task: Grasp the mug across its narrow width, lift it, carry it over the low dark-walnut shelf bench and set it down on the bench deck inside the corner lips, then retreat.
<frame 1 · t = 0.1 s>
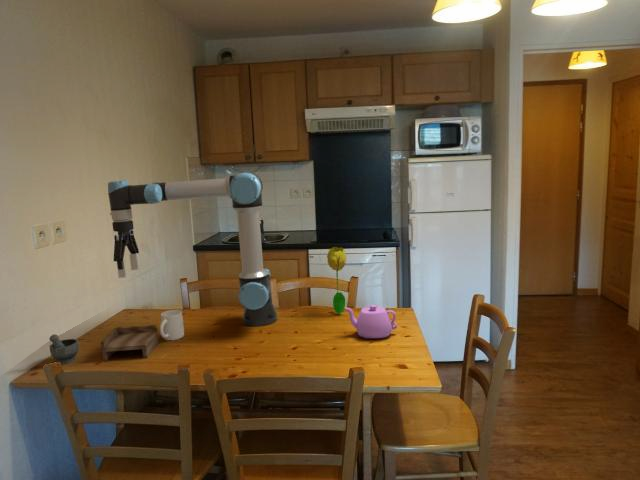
hand: (129, 273, 192), 28 cm above the table, fingers open, 13 cm apart
flower: (339, 315, 213), on the table
mortar and pestle: (65, 362, 178), on the table
shelf: (132, 351, 184), on the table
mug: (171, 339, 196), on the table
teapot: (371, 335, 187), on the table
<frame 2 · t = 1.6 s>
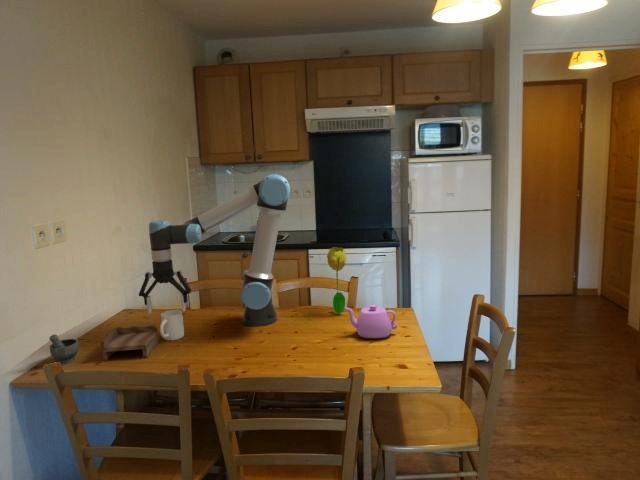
hand: (167, 311, 194), 11 cm above the table, fingers open, 13 cm apart
nothing on the table moved.
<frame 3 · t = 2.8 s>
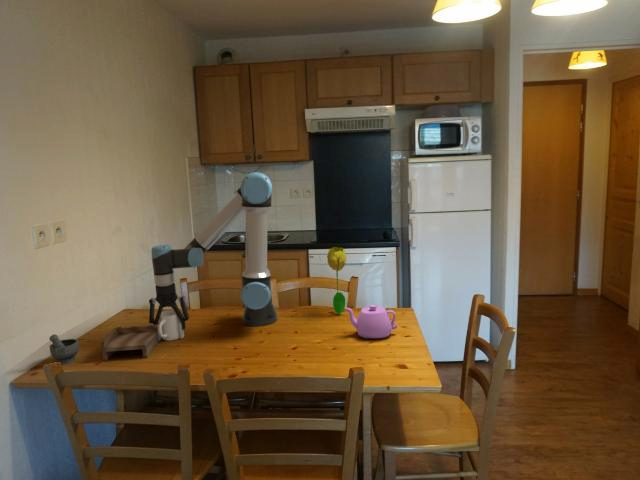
hand: (171, 338, 196), 0 cm above the table, fingers closed on mug, 8 cm apart
mug: (169, 339, 196), on the table, touching gripper
everything else where it was.
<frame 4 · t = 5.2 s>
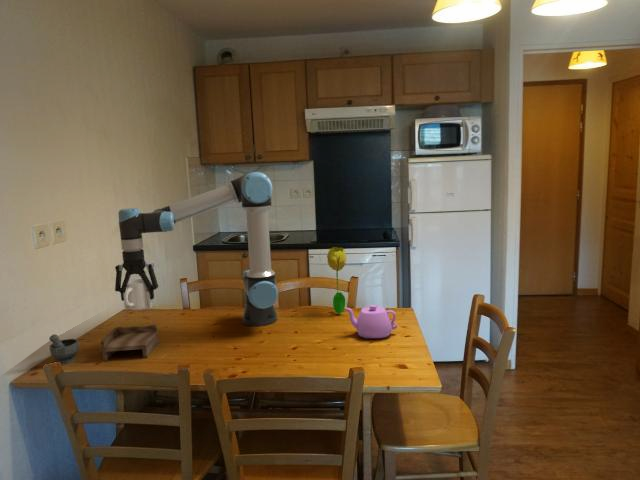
hand: (138, 307, 185), 16 cm above the table, fingers closed on mug, 8 cm apart
mug: (137, 309, 185), point 16 cm above the table, touching gripper
everything else where it was.
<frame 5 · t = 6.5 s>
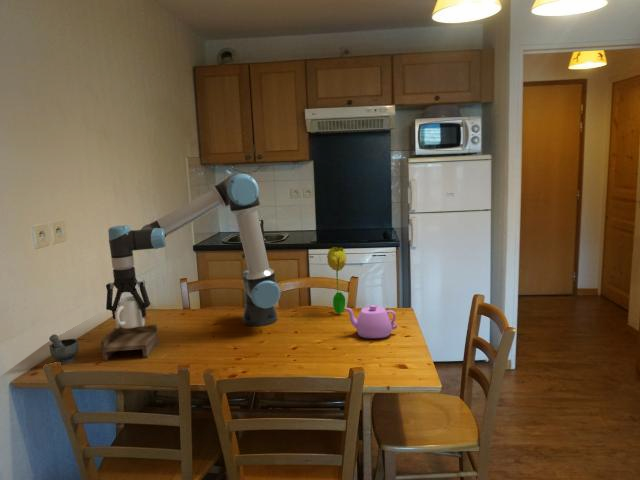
hand: (130, 326, 182), 10 cm above the table, fingers closed on mug, 8 cm apart
mug: (129, 327, 182), point 10 cm above the table, touching gripper
everything else where it was.
when the fingers open (7 cm above the table, at t = 7.5 s): mug drops 2 cm, resting on shelf.
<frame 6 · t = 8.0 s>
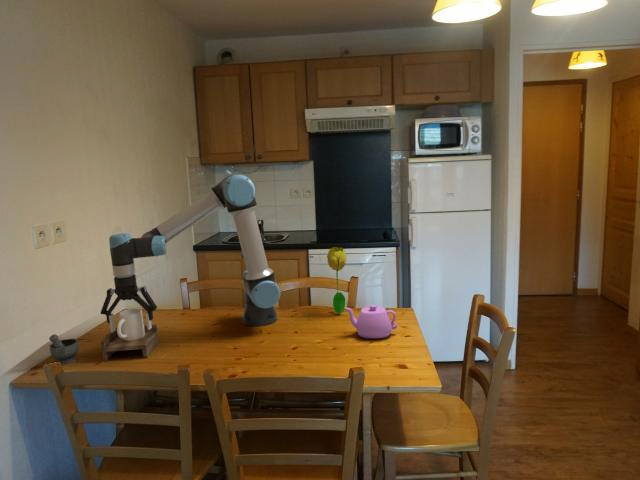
hand: (131, 330, 182), 9 cm above the table, fingers open, 13 cm apart
mug: (130, 339, 183), point 5 cm above the table, touching shelf
everything else where it was.
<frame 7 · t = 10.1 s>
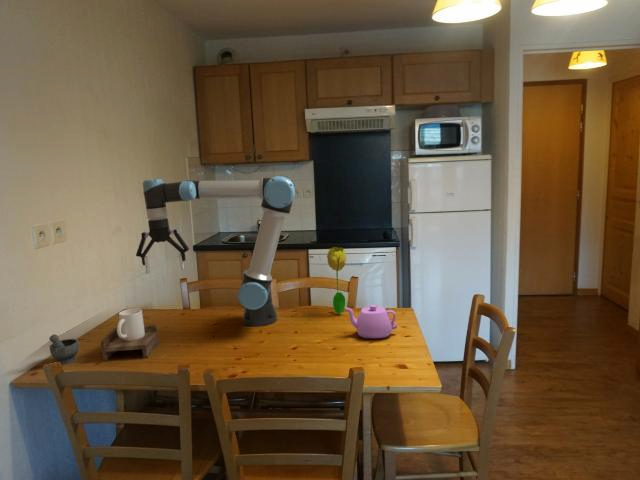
hand: (165, 271, 193), 28 cm above the table, fingers open, 13 cm apart
nothing on the table moved.
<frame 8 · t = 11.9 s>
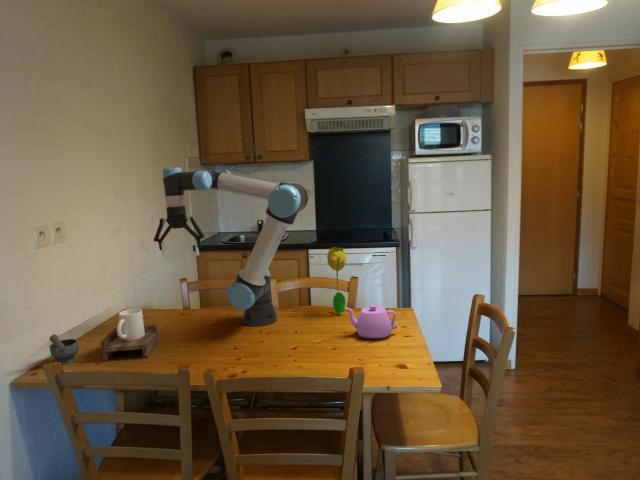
hand: (181, 256, 201), 32 cm above the table, fingers open, 13 cm apart
nothing on the table moved.
at the end: mug inside the target area on the shelf (0.2 cm from its centre), point 4.8 cm above the shelf's base; mug touching shelf; mug tilted 0° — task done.
